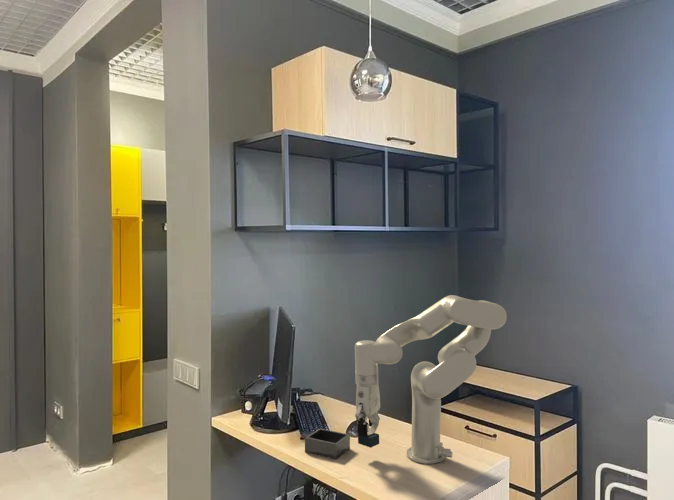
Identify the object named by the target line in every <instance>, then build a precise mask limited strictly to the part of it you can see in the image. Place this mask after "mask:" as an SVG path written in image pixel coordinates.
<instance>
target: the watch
mask: <svg viewBox="0 0 674 500" xmlns="http://www.w3.org/2000/svg"><path fill="white" fill-rule="evenodd" d="M361 414H365V413H362V412H361ZM361 418H363V420H364V417H363V416H361ZM367 420H368V421H369V420H370V421H371V423H372V426H370V428H369V430H367V436H366V437H365V436H359V435H358V434H357V444H359V445H362V446H364V447H367V448H373V447H375V446H378V445H380V434H379V433H376V431H377V429H378V427H379V425H380V420H381V419H380V415H379V413H378V414H377V413H376V412H375V413H374V414H373V415H372V416H370V417H368V416H367Z"/></svg>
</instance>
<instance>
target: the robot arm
mask: <svg viewBox="0 0 674 500" xmlns="http://www.w3.org/2000/svg"><path fill="white" fill-rule="evenodd" d="M507 315H508V314H507V311H506V309H505V308H504V307H503V306H502V305H500V304H498V303H494V302H491V301H488V300H483V299H481V300H473V299H469V298H464V297H463V296H462V297H461V296H458V295H456V294H454V295H453V294H449V295H446V296H445V297H443V298H441V299H439V300H438V301H437V302H435V303H433V304H432V305H431V306H429V307H427V308H426V309H425V310H424V311H422V312H421V313H419V314H417V315H416V316H414V317H411V318H409V319H407V320H406V321H404V322H401V323H399V324H397V325H394V326H393V327H392V328H390V329H389V330H387V331H386V332H384V333H383V334H381V335H380V336H379V337H377V338H376V340H375V341H374V340H367V339H364V340H363V339H362V340H359V341H357V342H356V343H355V344H354V367H355V368H354V369H355V370H354V371H355V372H354V373H355V374H354V376H355V384H356V392H355V410H356V411H355V413H354V416H355V419H356V420H355V421H356V424H357V436H358V435H359V436H365V437H366V436H367V431H368V426H369V427H371V426H372V423H371V421H370V420H369V419H368V418H367V416H368V417H370V416H372V415H373V414H374V413H375V412H376V413H377V414H378V415H379V410H380V409H381V397H380V396H381V395H380V386H379V385H380V384H379V364H383V365H394V364H397V363H398V362H400V361H401V359H402V358H403V348H402V347H404V346H405V345H407V344H409V343H411V342H416V341H420V340H421V341H422V340H427V339H431V338H432V337H434V336H436V335H438V333H441V331H443V330H444V329H446V328H447V327H449V326H451V325H452V324H453V323H456V324H458V325H462V326H463V325H464V326H467V327H466V328H465V329H464V330H463V331H462V332H461V333H460V334H459V335H457V336H456V337H454V338H453V339H452V340H451V341H450V342H448V343H447V344H445V345H444V346H443V347H442V348H441V349H440V350H439V351H438V354H437V361H438V363H439V364H437V365H435V364H434V363H432V362H430V361H425V360H423V361H420V362H418V363H417V364H415V365H414V367H413V368H412V370H411V373H410V384H411V398H412V399H411V401H412V402H411V405H412V406H411V447H409V448H407V449H406V456H407V457H408V459H409V460H411V461H413V462H416V463H418V464H419V463H420V464H425V465H426V464H427V465H432V464H434V465H435V464H439V463H441V462H443V461H444V460H445V458H446V457H447V458H450V459H452V458H453V451H452V449H451V448H446V447H444V445H443V442H441V423H442V422H441V421H442V420H441V419H442V418H441V416H442V413H441V412H442V400H441V399H442V398H444V397H446V396H447V395H450V393H452V392H453V391H454V390H456V389H457V388H458V387H460V386H461V385H462V384H463V383H465V382H466V381H467V380H468V379H470V377H471V376H472V375H473V374H474V372H475V370H476V368H477V359H476V356H477V355H478V354H479V353H480V352H482V350H483V349H484V348H485V347H486V346H487V345H488V342H489V341H490V338H491V333H492V330H497V329H500V328H502V327H503V326H504V325H505V324H506V322H507V318H508V317H507ZM361 412H362V413H365V414H361ZM361 416H363V417H364V420H363V418H361ZM367 420H368V423H367Z"/></svg>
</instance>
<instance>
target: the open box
mask: <svg viewBox="0 0 674 500" xmlns="http://www.w3.org/2000/svg"><path fill="white" fill-rule="evenodd" d="M350 449H351V434H348V433H345V432H340V431H334V430H330V429H325V428H320V427H319V428H318V429H316V430H315V431H313V432H311V433H309V434H308V435H307V436H306V437H304V453H307V454H311V455H315V456H319V457H324V458H328V459H333V460H338V459H339V458H340V457H341V456H343V455H345V453H346V452H347V451H349V450H350Z"/></svg>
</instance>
